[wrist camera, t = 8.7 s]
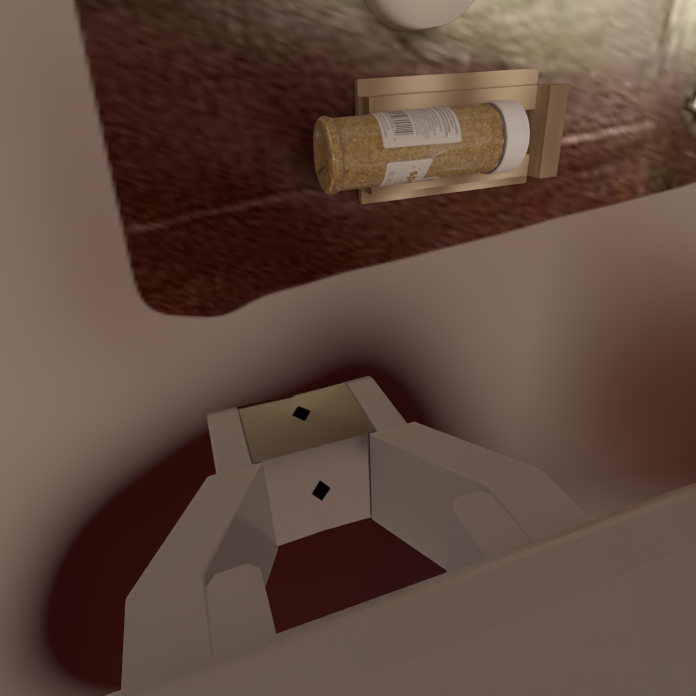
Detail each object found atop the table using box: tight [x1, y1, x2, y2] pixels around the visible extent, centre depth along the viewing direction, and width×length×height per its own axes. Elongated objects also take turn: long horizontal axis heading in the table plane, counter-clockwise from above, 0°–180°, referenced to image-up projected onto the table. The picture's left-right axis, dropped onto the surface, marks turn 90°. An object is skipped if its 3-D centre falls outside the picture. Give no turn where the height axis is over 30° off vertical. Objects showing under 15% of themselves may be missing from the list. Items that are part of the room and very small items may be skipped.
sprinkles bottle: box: [313, 100, 530, 194], centre depth 32 cm, size 5×5×13 cm
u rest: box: [354, 68, 570, 204], centre depth 35 cm, size 14×8×4 cm, turn 93°
